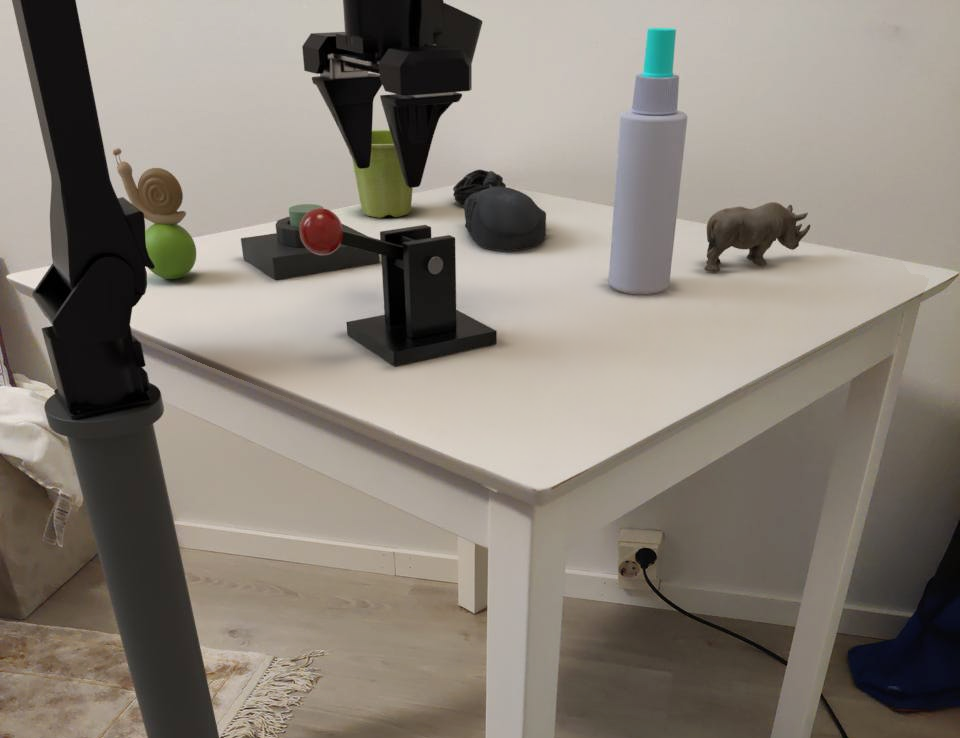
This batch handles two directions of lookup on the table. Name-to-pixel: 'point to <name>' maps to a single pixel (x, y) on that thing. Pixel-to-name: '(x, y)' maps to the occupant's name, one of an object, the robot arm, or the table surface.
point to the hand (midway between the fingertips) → (387, 177)
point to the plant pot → (383, 180)
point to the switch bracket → (420, 304)
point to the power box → (298, 254)
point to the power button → (300, 213)
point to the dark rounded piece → (499, 213)
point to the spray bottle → (648, 174)
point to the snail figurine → (161, 219)
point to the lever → (342, 237)
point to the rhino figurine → (752, 231)
